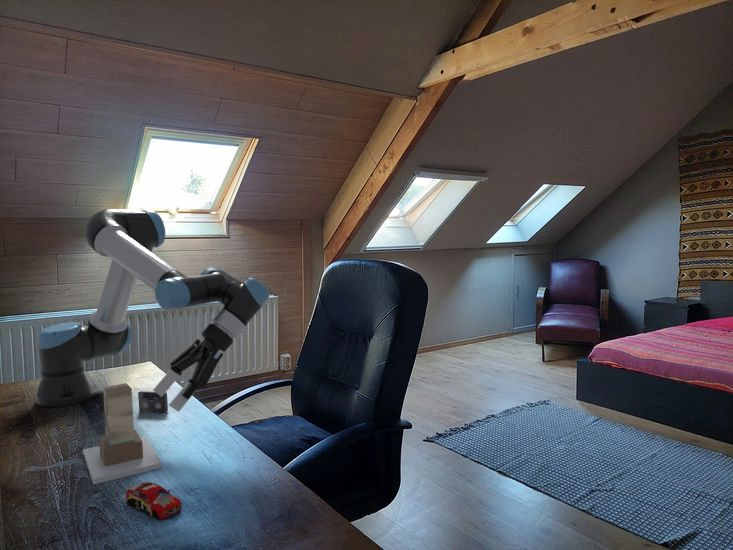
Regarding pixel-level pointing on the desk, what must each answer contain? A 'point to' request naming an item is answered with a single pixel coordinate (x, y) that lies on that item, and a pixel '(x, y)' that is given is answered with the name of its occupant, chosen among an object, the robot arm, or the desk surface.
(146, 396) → the mini dv tape
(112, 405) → the maple pillar
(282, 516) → the desk surface
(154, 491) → the race car
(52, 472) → the desk surface
